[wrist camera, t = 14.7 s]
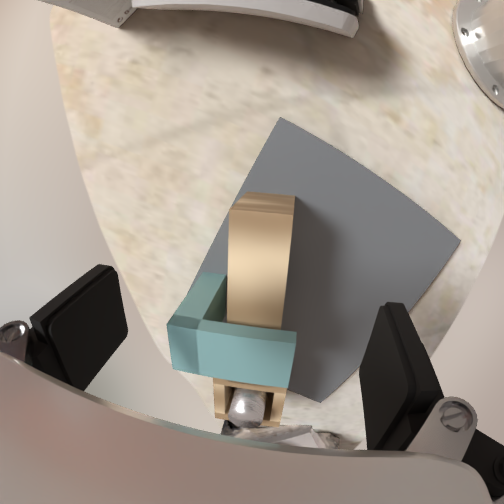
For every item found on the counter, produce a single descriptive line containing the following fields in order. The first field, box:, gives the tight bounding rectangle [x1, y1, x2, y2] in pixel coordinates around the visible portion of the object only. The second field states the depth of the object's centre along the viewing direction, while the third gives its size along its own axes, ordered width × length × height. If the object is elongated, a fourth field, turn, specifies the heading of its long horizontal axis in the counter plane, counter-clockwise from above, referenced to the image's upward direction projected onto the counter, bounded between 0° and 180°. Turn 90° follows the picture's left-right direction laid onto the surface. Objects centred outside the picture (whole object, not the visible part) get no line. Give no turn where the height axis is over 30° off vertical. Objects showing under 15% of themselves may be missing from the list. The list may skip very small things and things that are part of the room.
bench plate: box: [187, 117, 461, 403], centre depth 25 cm, size 22×18×1 cm
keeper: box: [167, 272, 297, 388], centre depth 22 cm, size 4×8×8 cm, turn 87°
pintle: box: [228, 387, 267, 428], centre depth 25 cm, size 3×3×8 cm
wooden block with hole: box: [213, 191, 295, 427], centre depth 23 cm, size 19×6×6 cm, turn 177°
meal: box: [221, 420, 339, 449], centre depth 28 cm, size 15×4×13 cm, turn 88°
